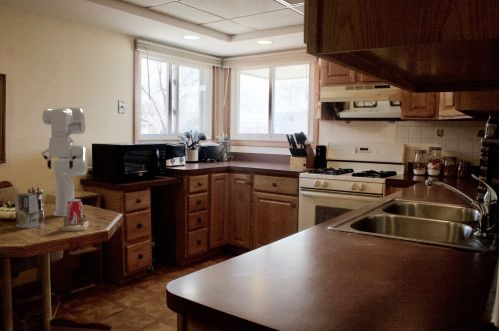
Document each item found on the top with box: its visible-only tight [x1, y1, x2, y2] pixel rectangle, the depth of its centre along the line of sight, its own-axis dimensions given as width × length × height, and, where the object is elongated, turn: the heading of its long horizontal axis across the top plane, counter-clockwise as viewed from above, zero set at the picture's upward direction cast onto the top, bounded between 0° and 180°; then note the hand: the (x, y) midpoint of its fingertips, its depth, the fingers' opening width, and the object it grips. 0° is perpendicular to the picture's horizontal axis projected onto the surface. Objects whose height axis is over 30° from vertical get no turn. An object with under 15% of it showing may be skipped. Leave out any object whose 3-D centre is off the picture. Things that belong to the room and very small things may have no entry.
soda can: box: [67, 198, 84, 225], centre depth 205 cm, size 7×7×12 cm
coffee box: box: [14, 192, 40, 229], centre depth 207 cm, size 9×6×16 cm
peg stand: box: [60, 213, 89, 232], centre depth 205 cm, size 11×11×6 cm
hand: (60, 168), depth 211 cm, fingers open, 9 cm apart
